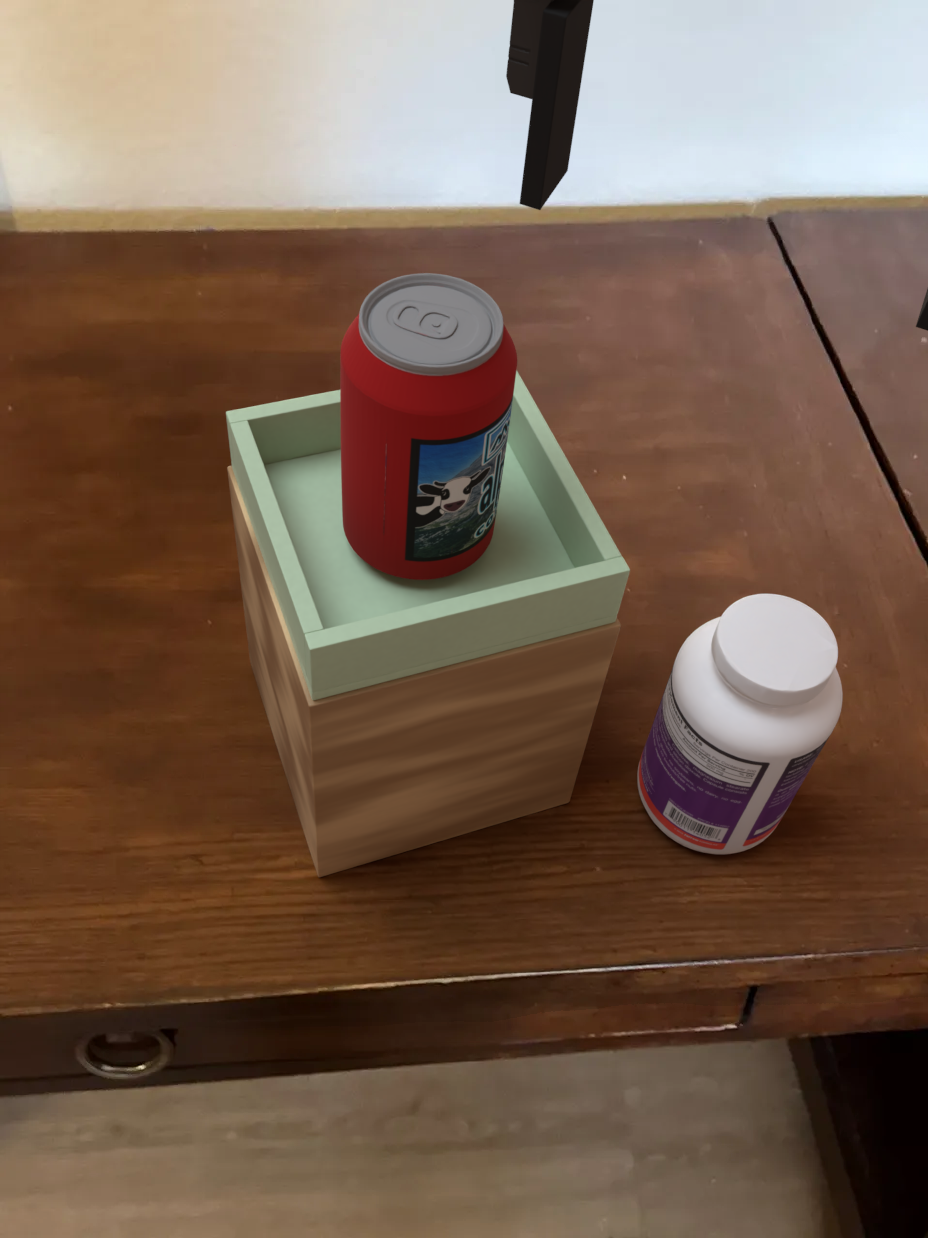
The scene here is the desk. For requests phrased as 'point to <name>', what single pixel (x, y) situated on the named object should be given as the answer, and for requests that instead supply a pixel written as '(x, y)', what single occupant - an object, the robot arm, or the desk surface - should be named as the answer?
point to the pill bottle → (740, 724)
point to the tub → (405, 608)
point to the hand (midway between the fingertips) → (732, 246)
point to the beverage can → (424, 424)
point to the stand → (420, 732)
